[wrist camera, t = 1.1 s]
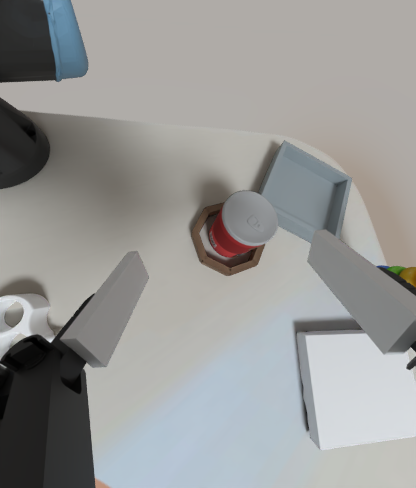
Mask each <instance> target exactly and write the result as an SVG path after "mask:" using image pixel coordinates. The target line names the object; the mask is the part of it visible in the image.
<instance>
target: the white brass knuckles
mask: <svg viewBox="0 0 416 488" xmlns="http://www.w3.org/2000/svg"><path fill="white" fill-rule="evenodd" d="M17 301H18V302H20V303H21V304H22V306H23V309H24V314H23V317H22V319H21V321H20V322H19V323H18V324H17V325H16V326H15V327H14V328H13V327H10V326H8V325H7V324H6V323H5V320H4V315H5V312H6V310H7V309H8V307H9V306H10V305H12V304H13V303H15V302H17ZM49 308H50V304H49V302H48V301H47V300H46V299H45V298H44V297H43V296H41V295H38V294H32V293H31V294H14V295H6V296H2V297H0V360H1V358H2V357H3V355H4V354H5V353H6V352H7V351H8V350H9V349H10V344H11V342H12V340H13V339H14V337H15V336H16V335H18V334H19V333H21V334H24V335H26V336H27V337H28V336H31V335H35V334H39V335H41V336H42V337H44V338H45V339H46V340H47V341H49V342H50V343H51V342H52V341H53V339H54V338H55V337H56V336H54V334H53V331H52V330H51V328H50V327H49V325H48V322H47V314H48V310H49ZM0 365H1V366H3V365H2V364H0ZM3 367H5V366H3ZM5 368H7V367H5Z"/></svg>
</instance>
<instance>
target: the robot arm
mask: <svg viewBox="0 0 416 488" xmlns="http://www.w3.org/2000/svg"><path fill="white" fill-rule="evenodd" d="M87 70H88V59H87V56H86V51H85V47H84V44H83V40H82V37H81V33H80V30H79V26H78V23H77V20H76V17H75V13H74V10H73V6H72V3H71V0H0V83H2V82H24V81H46V80H55V81H57V82H59V81H61V80H62V79H66V78H77V77H82V76H84V75H85V74H86V72H87ZM48 156H49V143H48V140H47V138H46V136H45V135H44V133H43V132H42V131H41V130H40V129H39V128H38V127H37V126H36V124H35V123H34V122H33V121H32V120H31V119H29V118H28V117H27V116H26V115H24V114H23V113H22V112H20V111H19V110H17V109H16V108H14V107H13V106H12V105H10V104H9V103H7V102H6V101H4V100H3V99H1V98H0V189H3V188H8V187H12V186H15V185H18V184H20V183H23V182H25V181H27V180H28V179H30V178H32V177H33V176H34V175H36V174H37V173H38V172H39V171H40V170H41V169H42V168H43V166H44V165H45V163H46V161H47V159H48ZM307 262H308V263H309V264H310V265H311V267H312V268H313V269H314V270H315V272H316V273H317V274H318V275H319V276H320V278H321V279H322V280H323V281H324V283H325V284H326V285H327V286H328V287H329V289H330V290H331V291H332V292H333V294H334V295H335V296H336V297H337V298H338V300H339V301H340V302H341V303H342V305H343V306H344V307H345V308H346V309H347V311H348V312H349V313H350V314H351V315H352V317H353V318H354V319H355V320H356V322H357V323H358V324H359V325H360V326H361V328H362V329H363V330H364V331H365V333H366V334H367V335H368V336H369V337H370V339H371V340H372V341H373V342H374V344H375V345H376V346H377V347H378V348H379V350H380V351H381V352H382V353H383V355H400V354H404V353H405V352H406V351H407V350H408V349H409V348H410V347H411V348H412V349H413V350H414V351H415V352H416V287H414V286H413V285H412V284H410V283H407V281H406V280H404V279H403V278H402V277H400V276H399V275H397V274H396V273H394V272H392V271H389V270H387V269H385V268H383V267H376V266H375V265H373V264H372V263H371V262H369V261H368V260H366V259H365V258H364V257H362V256H361V255H360V254H358V253H357V252H356V251H354V250H353V249H352V248H350V247H349V246H348V245H346V244H345V243H343V242H342V241H341V240H339V239H338V238H337V237H335V236H334V235H333V234H331V233H330V232H329V231H327V230H326V229H325V230H316V231H314V234H313V238H312V243H311V247H310V252H309V256H308V261H307ZM148 279H149V275H148V273H147V271H146V269H145V267H144V264H143V262H142V260H141V258H140V256H139V253H138V251H134V252H128V253H127V254H126V256H125V257H124V258H123V259H122V261H121V262H120V263H119V264H118V266H117V267H116V268H115V270H114V271H113V272H112V273H111V275H110V276H109V277H108V278H107V280H106V281H105V282H104V283H103V285H102V286H101V287H100V289H99V290H98V291H97V292H96V294H93V295H91V296H90V297H89V298H88V299H87V300H85V301H84V303H83V304H82V305H81V306H80V308H79V310H77V311H76V312H75V314H74V316H73V317H71V319H70V320H69V321H68V322H67V323H66V325H65V326H64V327H63V328H62V330H61V331H60V332H59V333H58V334H57V336H56V337H55V338H54V339H53V341H52V342H51V343H50V342H49V341H47V340H46V339H45V338H44V337H42V336H41V335H39V334H35V335H31V336H28V337H26V338H24V339H23V340H21V341H19V342H18V343H16V344H15V345H14V346H13V347H11V348H10V349H9V350H8V351H7V352H6V353H5V354H4V355H3V357H2V358H1V360H0V364H2V365H3V366H5V367H7V368H5V367H3V366H1V365H0V488H95V478H94V466H93V454H92V443H91V431H90V419H89V407H88V396H87V384H86V373H85V371H84V369H83V368H84V366H85V364H86V362H87V363H88V364H89V365H90V366H91V367H93V368H95V367H107V365H108V362H109V360H110V358H111V356H112V354H113V352H114V350H115V348H116V346H117V344H118V341H119V339H120V337H121V335H122V333H123V331H124V329H125V327H126V325H127V323H128V321H129V318H130V316H131V314H132V312H133V310H134V308H135V306H136V304H137V302H138V300H139V298H140V295H141V293H142V291H143V289H144V287H145V285H146V283H147V281H148ZM414 366H416V357H415V358H414V359H412V360H411V361H410V362H409V363H408V364H407V367H406V369H408V370H411V369H412V368H413V367H414Z"/></svg>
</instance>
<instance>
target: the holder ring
mask: <svg viewBox="0 0 416 488" xmlns="http://www.w3.org/2000/svg"><path fill="white" fill-rule="evenodd" d="M224 203H225V202H224ZM224 203H220V204H216V205H212V206H208V207H206V208H204V210H203V212H202V214H201V215H200V217H199V219H198V221H197V223H196V225H195V227H194V228H193V230H192V233H191V237H192V240H193V243H194V246H195V249H196V252H197V255H198V258H199V261H200V262H201V261H202V262H201V263H202V264H204V265H206V266H208V267H210V268H212V269H214V270H216V271H218V272H220V273H222V274H224V275H226V276H230V275H233V274H236V273H239V272H241V271H244V270H247V269H249V268H252V267H255V266H257V265H258V262H259V260H260V257H261V254H262V252H263V249H264V246H265V244H263V245H261V246H259V247H257V248H255V249H253V250H252V253H251V255H250V258H249V260H248V262H245V263H243V264H240V265H237V266H234V267H232V268H229V267H227V266H225V265H223V264H221V263H219V262H217V261H215V260H213V259H211V258H209V257H207V254H206V252H205V249H204V246H203V243H202V240H201V237H200V235H199V232H200V230H201V228H202V226H203V225H204V223H205V221H206V219H207V217H208V216H212V215H216V214H219V212H220V210H221V208H222V206H223V205H224Z"/></svg>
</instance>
